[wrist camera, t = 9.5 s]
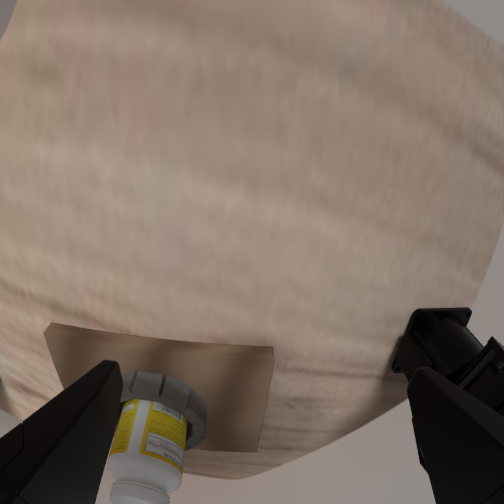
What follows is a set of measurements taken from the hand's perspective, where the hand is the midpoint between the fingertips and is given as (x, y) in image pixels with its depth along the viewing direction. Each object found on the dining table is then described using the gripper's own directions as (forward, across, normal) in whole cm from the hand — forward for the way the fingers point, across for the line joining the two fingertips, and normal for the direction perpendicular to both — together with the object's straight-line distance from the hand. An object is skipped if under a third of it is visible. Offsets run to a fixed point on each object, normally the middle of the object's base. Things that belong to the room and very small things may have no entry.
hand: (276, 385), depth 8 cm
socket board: (+12, +7, +15) cm, 20 cm away
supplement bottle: (+11, +7, +15) cm, 20 cm away
